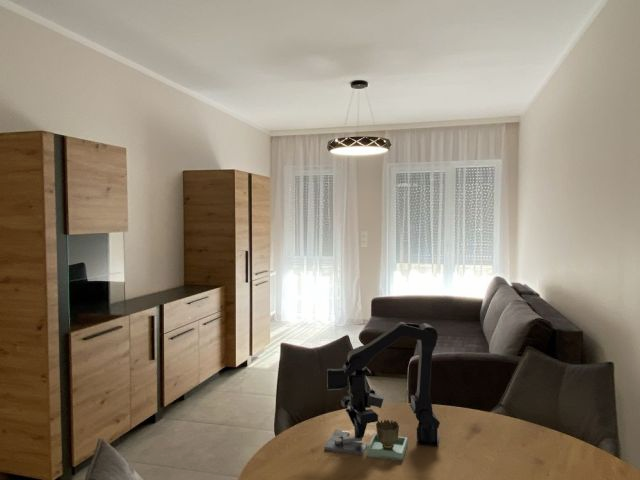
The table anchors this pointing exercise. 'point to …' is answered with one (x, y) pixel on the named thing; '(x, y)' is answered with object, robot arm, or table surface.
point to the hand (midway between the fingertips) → (360, 433)
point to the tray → (393, 454)
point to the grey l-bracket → (345, 445)
